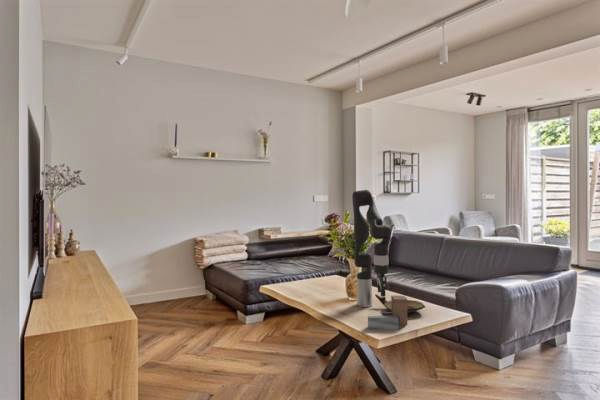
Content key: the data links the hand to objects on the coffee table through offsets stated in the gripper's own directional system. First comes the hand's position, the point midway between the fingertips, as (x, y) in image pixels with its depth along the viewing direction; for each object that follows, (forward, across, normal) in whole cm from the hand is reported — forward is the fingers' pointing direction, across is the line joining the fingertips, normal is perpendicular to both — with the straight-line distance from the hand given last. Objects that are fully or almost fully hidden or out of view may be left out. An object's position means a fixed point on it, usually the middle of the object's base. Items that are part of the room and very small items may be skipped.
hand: (381, 294), depth 207 cm
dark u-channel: (+18, -8, +9) cm, 21 cm away
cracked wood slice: (+18, -30, +17) cm, 39 cm away
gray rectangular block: (+18, 0, +1) cm, 18 cm away
